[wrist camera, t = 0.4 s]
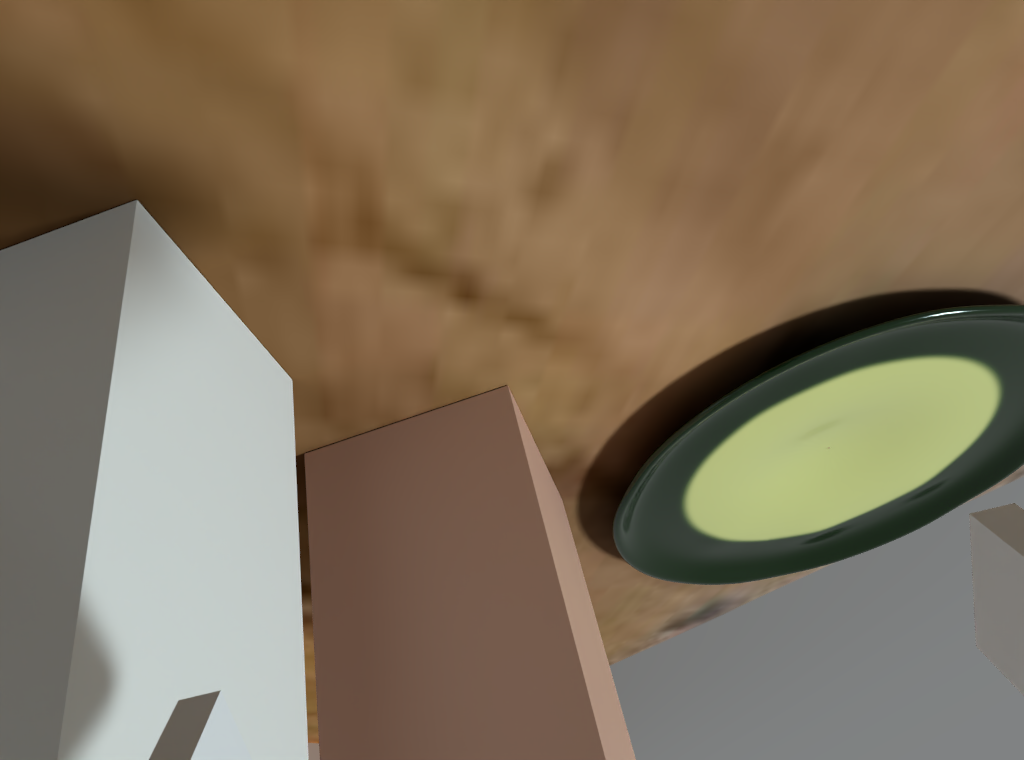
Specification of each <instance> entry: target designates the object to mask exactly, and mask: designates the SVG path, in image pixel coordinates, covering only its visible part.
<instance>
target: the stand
mask: <svg viewBox="0 0 1024 760" xmlns="http://www.w3.org/2000/svg"><path fill="white" fill-rule="evenodd" d="M304 456H305V476H306V495H307V515H308V535H309V554H310V574H311V593H312V613H313V633H314V652H315V672H316V691H317V711H318V731H319V749H320V760H636V759H635V756H634V751H633V748H632V744H631V741H630V737H629V734H628V730H627V727H626V723H625V720H624V716H623V713H622V709H621V706H620V702H619V699H618V695H617V692H616V688H615V685H614V681H613V678H612V674H611V670H610V667H609V663H608V660H607V656H606V653H605V649H604V646H603V642H602V639H601V635H600V632H599V628H598V624H597V621H596V617H595V614H594V610H593V607H592V603H591V600H590V596H589V593H588V589H587V586H586V582H585V579H584V575H583V572H582V568H581V565H580V561H579V557H578V554H577V550H576V547H575V543H574V540H573V536H572V533H571V529H570V526H569V522H568V519H567V515H566V512H565V508H564V505H563V501H562V499H561V497H560V495H559V492H558V490H557V488H556V486H555V484H554V482H553V480H552V478H551V476H550V473H549V471H548V469H547V467H546V465H545V463H544V461H543V459H542V456H541V454H540V452H539V450H538V448H537V446H536V444H535V442H534V440H533V437H532V435H531V433H530V431H529V429H528V427H527V425H526V423H525V421H524V418H523V416H522V414H521V412H520V410H519V408H518V406H517V404H516V401H515V399H514V397H513V395H512V393H511V391H510V389H509V387H508V386H505V387H502V388H499V389H496V390H493V391H490V392H487V393H484V394H481V395H478V396H475V397H472V398H469V399H466V400H463V401H460V402H457V403H454V404H451V405H448V406H445V407H442V408H439V409H436V410H433V411H430V412H427V413H424V414H421V415H418V416H415V417H412V418H409V419H406V420H404V421H401V422H398V423H395V424H392V425H389V426H386V427H383V428H380V429H377V430H374V431H371V432H368V433H365V434H362V435H359V436H356V437H353V438H350V439H347V440H344V441H341V442H338V443H335V444H332V445H329V446H326V447H323V448H320V449H317V450H314V451H311V452H308V453H305V454H304Z"/></svg>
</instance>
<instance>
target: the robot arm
mask: <svg viewBox="0 0 1024 760" xmlns="http://www.w3.org/2000/svg"><path fill="white" fill-rule="evenodd" d="M969 515H970V536H971V554H972V555H971V556H972V573H973V574H972V576H973V594H974V595H973V596H974V616H975V633H976V646H977V647H978V648H979V649H980V650H981V652H983V654H984V655H985V656H986V657H987V658H988V659H989V660H990V661H991V662H992V663H993V664H994V665H995V666H996V667H997V668H998V669H999V670H1000V671H1001V672H1002V673H1003V675H1004V676H1005V677H1006V678H1007V679H1008V680H1009V681H1010V682H1011V683H1012V684H1013V685H1014V686H1015V687H1016V688H1017V689H1018V690H1019V691H1020V692H1021V693H1022V694H1023V695H1024V510H1023V509H1022V508H1020V507H1019V506H1018V505H1016V504H1015V503H1013V504H1009V505H1005V506H1001V507H996V508H992V509H988V510H984V511H980V512H975V513H971V514H969ZM149 760H252V758H251V756H250V754H249V752H248V749H247V747H246V745H245V743H244V741H243V738H242V736H241V734H240V732H239V730H238V727H237V725H236V723H235V721H234V718H233V716H232V714H231V712H230V710H229V707H228V705H227V703H226V701H225V698H224V696H223V694H222V692H221V690H220V691H216V692H211V693H207V694H203V695H199V696H194V697H190V698H186V699H182V700H178V702H177V704H176V706H175V708H174V710H173V712H172V714H171V716H170V718H169V720H168V722H167V724H166V726H165V728H164V730H163V732H162V734H161V736H160V738H159V740H158V742H157V744H156V746H155V748H154V750H153V752H152V754H151V756H150V758H149Z"/></svg>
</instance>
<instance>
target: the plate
mask: <svg viewBox="0 0 1024 760" xmlns="http://www.w3.org/2000/svg"><path fill="white" fill-rule="evenodd" d="M828 447H830V448H829V449H827V448H828ZM1022 465H1024V305H978V306H963V307H953V308H945V309H939V310H933V311H927V312H923V313H918V314H913V315H909V316H905V317H901V318H898V319H894V320H890V321H887V322H884V323H880V324H877V325H874V326H871V327H868V328H865V329H862V330H859V331H856V332H853V333H850V334H848V335H845V336H842V337H840V338H837V339H835V340H832V341H830V342H827V343H825V344H822V345H820V346H817V347H815V348H813V349H810V350H808V351H806V352H804V353H802V354H799V355H797V356H795V357H793V358H791V359H789V360H787V361H785V362H783V363H781V364H779V365H777V366H775V367H773V368H771V369H769V370H767V371H765V372H763V373H762V374H760V375H758V376H756V377H754V378H753V379H751V380H749V381H747V382H746V383H744V384H742V385H741V386H739V387H737V388H736V389H734V390H732V391H731V392H729V393H728V394H726V395H725V396H723V397H722V398H720V399H718V400H717V401H715V402H714V403H713V404H711V405H710V406H708V407H707V408H705V409H704V410H703V411H701V412H700V413H699V414H697V415H696V416H695V417H693V418H692V419H691V420H689V421H688V422H687V423H686V424H684V425H683V426H682V427H681V428H679V429H678V430H677V431H676V432H675V433H674V434H672V435H671V436H670V437H669V438H668V439H667V440H666V441H665V442H664V443H663V444H662V445H661V446H660V447H658V448H657V450H656V451H655V452H654V453H653V454H652V455H651V456H650V457H649V458H648V459H647V461H646V462H645V463H644V464H643V466H642V467H641V468H640V470H639V471H638V472H637V474H636V475H635V477H634V478H633V480H632V482H631V483H630V485H629V487H628V488H627V490H626V492H625V494H624V496H623V498H622V500H621V502H620V504H619V506H618V508H617V510H616V513H615V516H614V520H613V528H612V532H613V540H614V543H615V546H616V548H617V550H618V552H619V554H620V555H621V556H622V558H623V559H624V560H625V561H626V562H627V563H628V564H629V565H631V566H632V567H633V568H635V569H636V570H638V571H640V572H642V573H644V574H646V575H648V576H651V577H654V578H657V579H661V580H666V581H671V582H678V583H687V584H702V585H720V584H735V583H744V582H751V581H757V580H762V579H767V578H772V577H777V576H782V575H787V574H791V573H796V572H800V571H805V570H809V569H813V568H817V567H820V566H824V565H828V564H831V563H834V562H837V561H841V560H844V559H846V558H849V557H852V556H855V555H858V554H861V553H863V552H866V551H869V550H871V549H874V548H877V547H879V546H882V545H884V544H886V543H889V542H891V541H894V540H896V539H898V538H900V537H903V536H905V535H907V534H909V533H911V532H913V531H915V530H917V529H920V528H921V527H923V526H925V525H927V524H929V523H931V522H933V521H934V520H936V519H938V518H940V517H941V516H943V515H945V514H946V513H948V512H950V511H952V510H953V509H955V508H957V507H958V506H960V505H962V504H963V503H965V502H967V501H968V500H970V499H972V498H974V497H975V496H977V495H979V494H981V493H982V492H984V491H986V490H987V489H989V488H991V487H992V486H994V485H996V484H997V483H999V482H1000V481H1002V480H1003V479H1005V478H1006V477H1008V476H1009V475H1010V474H1012V473H1013V472H1015V471H1016V470H1017V469H1019V468H1020V467H1021V466H1022Z"/></svg>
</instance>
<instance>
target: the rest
mask: <svg viewBox="0 0 1024 760" xmlns="http://www.w3.org/2000/svg"><path fill="white" fill-rule="evenodd" d="M220 690H221V692H222V694H223V696H224V698H225V701H226V703H227V705H228V707H229V710H230V712H231V714H232V716H233V718H234V721H235V723H236V725H237V727H238V730H239V732H240V734H241V736H242V738H243V741H244V743H245V745H246V747H247V749H248V752H249V754H250V756H251V758H252V760H308V737H307V713H306V690H305V666H304V643H303V619H302V596H301V572H300V549H299V525H298V502H297V478H296V455H295V431H294V408H293V384H292V379H291V378H290V377H289V376H288V374H287V373H286V372H285V371H284V370H283V369H282V367H281V366H280V365H279V364H278V363H277V362H276V360H275V359H274V358H273V357H272V356H271V355H270V353H269V352H268V351H267V350H266V349H265V348H264V347H263V345H262V344H261V343H260V342H259V341H258V340H257V338H256V337H255V336H254V335H253V334H252V333H251V331H250V330H249V329H248V328H247V327H246V326H245V324H244V323H243V322H242V321H241V320H240V319H239V317H238V316H237V315H236V314H235V313H234V312H233V311H232V309H231V308H230V307H229V306H228V305H227V304H226V302H225V301H224V300H223V299H222V298H221V297H220V295H219V294H218V293H217V292H216V291H215V290H214V288H213V287H212V286H211V285H210V284H209V283H208V281H207V280H206V279H205V278H204V277H203V276H202V275H201V273H200V272H199V271H198V270H197V269H196V268H195V266H194V265H193V264H192V263H191V262H190V261H189V259H188V258H187V257H186V256H185V255H184V254H183V252H182V251H181V250H180V249H179V248H178V247H177V245H176V244H175V243H174V242H173V241H172V240H171V238H170V237H169V236H168V235H167V234H166V233H165V232H164V230H163V229H162V228H161V227H160V226H159V225H158V223H157V222H156V221H155V220H154V219H153V218H152V216H151V215H150V214H149V213H148V212H147V211H146V209H145V208H144V207H143V206H142V205H141V204H140V202H139V201H138V200H135V201H132V202H129V203H127V204H124V205H121V206H119V207H116V208H113V209H111V210H108V211H105V212H103V213H100V214H97V215H95V216H92V217H89V218H86V219H84V220H81V221H78V222H76V223H73V224H70V225H68V226H65V227H62V228H60V229H57V230H54V231H52V232H49V233H46V234H44V235H41V236H38V237H36V238H33V239H30V240H27V241H25V242H22V243H19V244H17V245H14V246H11V247H9V248H6V249H3V250H1V251H0V760H149V758H150V756H151V754H152V752H153V750H154V748H155V746H156V744H157V742H158V740H159V738H160V736H161V734H162V732H163V730H164V728H165V726H166V724H167V722H168V720H169V718H170V716H171V714H172V712H173V710H174V708H175V706H176V704H177V702H178V700H182V699H186V698H190V697H194V696H199V695H203V694H207V693H211V692H216V691H220Z"/></svg>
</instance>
